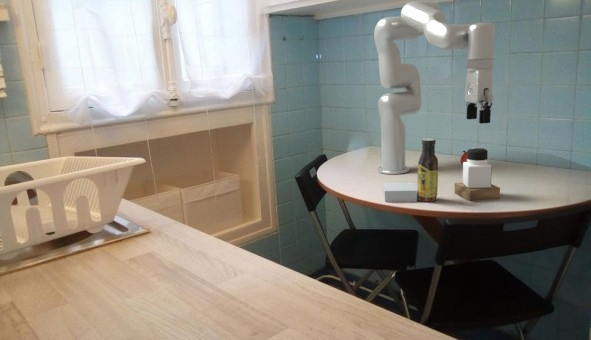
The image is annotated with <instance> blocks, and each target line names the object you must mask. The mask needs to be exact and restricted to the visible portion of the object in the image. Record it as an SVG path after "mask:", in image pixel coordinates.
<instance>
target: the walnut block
mask: <svg viewBox="0 0 591 340" xmlns="http://www.w3.org/2000/svg"><path fill="white" fill-rule="evenodd" d="M500 192H501V187H499V186H497V185H494V184H492V183H491V187H490V188H468V187H467V186H466V185H465V184H463V182H455V183H454V194H455V195H457V196H458V197H460V198H462V199H464V200H466V201H468V202H469V201H470V202H471V201H474V202H479V201H480V202H481V201H482V200H483V201H489V200H490V201H491V199H493V200H500V198H501V193H500ZM470 202H469V203H470ZM471 203H472V202H471Z"/></svg>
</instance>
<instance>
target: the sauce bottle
mask: <svg viewBox="0 0 591 340" xmlns="http://www.w3.org/2000/svg"><path fill="white" fill-rule="evenodd" d="M421 145H422V151H421V154H420V157H419V160H418V162H417V187H416V190H417V200H419V201H421V202H428V203H429V202H430V203H431V202H435V201H437V199H438V183H439V182H438V181H439V161H438V156H436V154H435V152H436V151H435V149H436V139H435V138H431V137H426V138H422V139H421Z"/></svg>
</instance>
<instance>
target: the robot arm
mask: <svg viewBox="0 0 591 340" xmlns="http://www.w3.org/2000/svg"><path fill="white" fill-rule="evenodd" d="M441 8H442V7H441V6H440V4H438V2H436V1H434V0H433V1H432V0H414V1H409V2H407V3H406V4H405V5H403V6H402V8H401V11H400V16H386V17H384V18H381V19H379V21H377V23H376V25H375V27H374V31H373V38H374V39H373V40H374V44H375V47H376V50H377V56H378V71H379V79H380V80H379V81H380V85H381V87H382V88H383V89H386V90H397V89H398V90H399V89H402V91H396V92H393V91H392V92H388V93H387V92H386V93H384V94H383V95H381V96H380V97H379V99H378V101H377V102H378V103H377V108H378V113H379V119H380V120H379V121H380V143H381V144H380V146H381V147H380V148H381V149H380V150H381V156H380V158H381V165H380V166H378V168H377V172H378V173H379V174H385V175H401V174H407V173H409V172H410V167H409V166H406V126H405V123H404V121H403V120H402V118H401V117H404V116H411V115H416V114H417V113H418V112H420V111H421V107H422V93H421V92H422V91H421V78H420V77H421V76H420V71H419V70H418V68H417V66H415V64H412V63H402V59H401V51H400V49H399V47H398V45H397V44H396V43H395V42H394V41H398V40H399V41H402V40H406V41H407V40H414V39H418V38H420V37H421V36H422V35H423V36H424V38H425V39H426V41H427V43H429V44H431V45H433V46H435V47H437V48H439V49H441V50H449V51H450V50H467V53H466V54H467V59H466V71H467V72H466V77H465V89H464V101H466V104H465V105H466V120H477V119H478V122H479V123H478V124H490V123H491V114H492V113H491V112H492V111H491V110H492V105H493V101H494V95H493V70H494V64H495V63H494V61H495V60H494V59H495V42H496V41H495V39H496V38H495V37H496V25H495V24H494V23H492V22H476V23H473V24H472V23H469V24H468V23H467V24H465V23H462V24H461V23H460V24H458V23H457V24H456V23H455V24H448V23H445V22H446V17H445V14H444V13H443V12H442V9H441ZM478 104H479V107H480V110H479V113H478V106H477V105H478ZM478 114H479V115H478Z"/></svg>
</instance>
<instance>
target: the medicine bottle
mask: <svg viewBox="0 0 591 340" xmlns="http://www.w3.org/2000/svg"><path fill="white" fill-rule="evenodd" d="M466 152H467V161H468V162H463V165H462V183H463V184H465V185H466V186H467V187H468V188H490V187H491V184H492V168H493V167H492V165H491V164H489V163H488V157H489V156H488V154H489V153H488V152H489V151H488V150H487V148H483V147H472V148H469V149H468V150H466Z"/></svg>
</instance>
